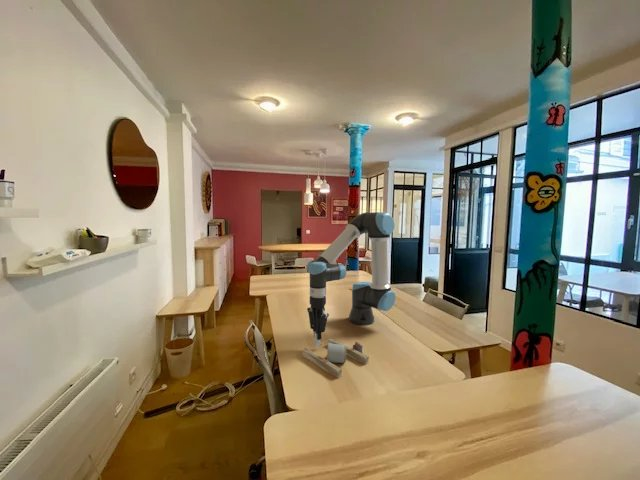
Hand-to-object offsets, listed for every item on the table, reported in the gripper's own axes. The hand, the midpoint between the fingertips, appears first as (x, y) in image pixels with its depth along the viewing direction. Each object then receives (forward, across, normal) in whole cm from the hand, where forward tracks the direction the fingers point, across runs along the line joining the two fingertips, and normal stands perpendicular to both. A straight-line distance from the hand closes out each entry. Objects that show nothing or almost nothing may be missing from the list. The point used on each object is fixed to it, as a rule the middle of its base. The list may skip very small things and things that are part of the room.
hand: (317, 345), depth 133 cm
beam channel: (+2, +12, +2) cm, 12 cm away
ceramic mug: (+2, +12, 0) cm, 13 cm away
